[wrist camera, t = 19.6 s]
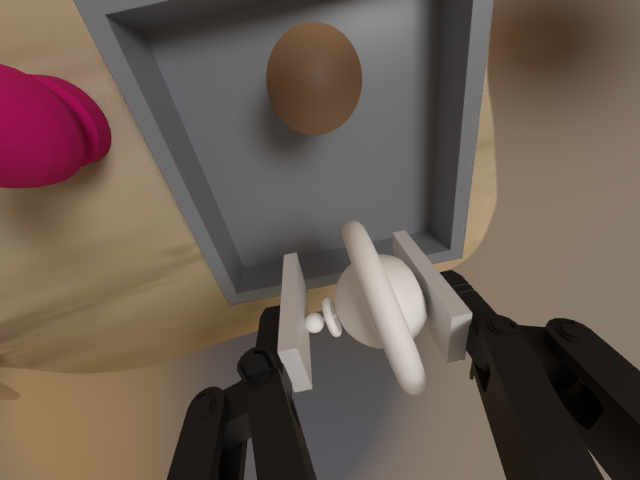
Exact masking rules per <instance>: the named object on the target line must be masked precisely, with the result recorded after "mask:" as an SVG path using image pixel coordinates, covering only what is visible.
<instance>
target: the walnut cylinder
mask: <svg viewBox="0 0 640 480" xmlns="http://www.w3.org/2000/svg"><path fill="white" fill-rule="evenodd" d="M266 84H267V91H268V95H269V98H270V101H271V104H272V106H273V108H274V110H275V111H276V113H277V114H278V116H279V117H280V118H281V119H282V120H283V122H284V123H286V124H287V125H288V126H289V127H291V128H292V129H294V130H296V131H298V132H300V133H303V134H308V135H322V134H326V133H329V132H332V131H334V130H336V129H337V128H339V127H340V126H341V125H343V124H344V123H345V122H346V121H347V120H348V119H349V117H350V116H351V115H352V113H353V112H354V110H355V108H356V106H357V104H358V101H359V98H360V94H361V89H362V70H361V64H360V60H359V57H358V55H357V52H356V50H355V48H354V47H353V45H352V43H351V42H350V41H349V39H348V38H347V37H346V36H345V35H344V34H343V33H342V32H341V31H339V30H338V29H336V28H335V27H333V26H331V25H328V24H326V23H321V22H305V23H302V24H298V25H296V26H294V27H292V28H291V29H289V30H288V31H287V32H285V33H284V34H283V35H282V36H281V37H280V39H279V40H278V41H277V43H276V44H275V46H274V48H273V49H272V52H271V54H270V57H269V60H268V64H267V70H266Z"/></svg>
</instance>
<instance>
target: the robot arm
mask: <svg viewBox="0 0 640 480" xmlns="http://www.w3.org/2000/svg"><path fill="white" fill-rule="evenodd" d="M392 238H393V256H394V257H397V258H399V259H401V260H402V261H403V262H404V263H405V265H407V266H408V267H409V268H410V269H411V271H412V272H413V274H414V276H415V278H416V280H417V282H418V284H419V286H420V288H421V290H422V293H423V296H424V299H425V302H426V313H427V319H426V322H425V325H426V327H427V328H428V330H429V332H430V334H431V335H432V337H433V339H434V341H435V342H436V344H437V346H438V348H439V349H440V351H441V353H442V355H443V356H444V358H445V360H446V362H453V361H458V360H463V359H465V356H466V350H467V352H468V353H469V355H470V356H471V358H472V364H471V370H470V379H473V377H474V376H475V379H476V382H477V386H478V389H479V392H480V395H481V398H482V402H483V405H484V408H485V412H486V415H487V418H488V421H489V424H490V428H491V431H492V434H493V437H494V441H495V444H496V447H497V450H498V453H499V457H500V460H501V463H502V466H503V470H504V473H505V476H506V479H507V480H604V478H603V476H602V475H601V473H600V471H599V469H598V467H597V465H596V464H595V462H594V460H593V458H592V456H591V455H590V453H589V451H590V452H591V453H592V455H593V456H594V457H595V459H596V460H597V461H598V462H599V464H600V465H601V466H602V467H603V469H604V470H605V471H606V473H607V474H608V475H609V477H610V478H611V479H612V480H640V371H639V370H638V369H637V368H636V367H635V366H633V365H632V364H631V363H630V362H628V361H627V360H626V359H625V358H624V357H623V356H622V355H620V354H619V353H618V352H617V351H616V350H614V349H613V348H612V347H611V346H610V345H609V344H607V343H606V342H605V341H604V340H603V339H601V338H600V337H599V336H598V335H597V334H595V333H594V332H593V331H592V330H591V329H589V328H588V327H586V326H585V325H583V324H581V323H579V322H576V321H574V320H570V319H565V318H555V319H552V320H550V321H549V322H548V323H547V325H546V327H536V326H523V325H517V323H516V322H514V321H512V320H511V319H509V318H507V317H505V316H502V315H498V314H496V313H495V312H494V310H493V309H492V308H491V307H490V306H489V305H488V304H487V303H486V302H485V301H484V300H483V298H482V297H481V296H480V295H479V294H478V293H477V292H476V291H474V289H473V288H472V286H471V285H469V284H468V282H467V281H466V280H465V279H464V278H463V277H462V276H461V275H459V274H458V273H456V272H454V271H452V270H448V271H444V272H439V271H438V270H437V269H436V268H435V266H434V265H433V264H432V263H431V261H430V260H429V259H428V258H427V257H426V255H425V254H424V253H423V252H422V250H421V249H420V248H419V247H418V245H417V244H416V243H415V242H414V241H413V239H412V238H411V237H410V236H409V234H408V233H407V232H406V231H405V230H403V231H398V232H393V233H392ZM307 316H308V309H307V292H306V285H305V281H304V278H303V274H302V270H301V267H300V263H299V260H298V256H297V253H291V254H286V255H284V262H283V276H282V291H281V305H279V306H274V307H269V308H265V310H264V312H263V313H262V315H261V317H260V322H259V329H258V335H257V342H256V347H254V348H251V349H250V350H248V351H247V352H245V354H244V355H243V356H242V357H241V358H240V360H239V362H238V365H237V371H238V372H239V375H240V376H241V378H242V380H241V381H239V382H238V383H236V384H234V385H232V386H230V387H228V388H226V389H225V390H223V391H222V390H221V389H220V388H218V387H209V388H206V389H204V390H203V391H201V392H200V393H199V394H197V395H196V396H195V398H194V399H193V400H192V401H191V403H190V405H189V408H188V410H187V413H186V417H185V420H184V423H183V427H182V430H181V433H180V437H179V440H178V443H177V447H176V450H175V453H174V457H173V460H172V463H171V467H170V470H169V474H168V477H167V480H244V471H245V460H246V449H247V440H248V439H249V438H251V437H252V444H253V451H254V459H255V467H256V474H257V480H317V479H316V476H315V472H314V469H313V465H312V462H311V459H310V455H309V452H308V448H307V445H306V442H305V438H304V435H303V432H302V428H301V425H300V421H299V418H298V414H297V411H296V407H295V404H294V401H293V399H292V387H293V390H294V392H299V391H305V390H309V389H312V377H311V360H310V343H309V331H308V330H307V329H306V326H305V319H306V317H307ZM587 448H588V449H587ZM588 450H589V451H588Z"/></svg>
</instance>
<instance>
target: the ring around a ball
mask: <svg viewBox="0 0 640 480" xmlns="http://www.w3.org/2000/svg"><path fill="white" fill-rule="evenodd" d="M342 235H343V240H344V243H345V246H346V249H347V252H348V255H349V258H350V261H351V264H350V265H349V266H348V267H347V268H346V269H345V271H344V272H343V273H342V275H341V276H340V278H339V281H338V283H337V286H336V290H335V306H334V304H333V302H332V300H331V299H330V298H329V297H324V298H323V299H322V311H323V314H324V317H322V316H321V315H320V314H318V313H310V314H309V315H308V316H307V317H306V319H305V326H306V329H307V330H308V331H310V332H312V333H316V332H319V331H320V330H321V329H322V328H323V326H324V321H326V324H327V326H328V328H329V330H330V332H331V334H332V335H333V336H335V337H339V336H340V335H341V332H342V329H341V324H342V325H343V327H344V328H345V330H346V331H347V332H348V333H349V334H350V335H351V336H352V337H353V338H355V339H356V340H357V341H359V342H361V343H363V344H365V345H368V346H371V347H374V348H382V349H384V350H385V353H386V355H387V358H388V360H389V362H390V365H391V367H392V370H393V372H394V374H395V376H396V378H397V381H398V383H399V384H400V386H401V388H402V389H403V390H404V391H405V392H406V393H408V394H411V395H418V394H421V393H422V392H423V391H424V389H425V387H426V376H425V372H424V369H423V365H422V363H421V360H420V357H419V354H418V351H417V348H416V346H415V343H414V340H413V338H414V337H415V336H416V335H417V334H418V333H419V332H420V330H421V329H422V328H423V325H424V324H425V322H426V319H427V313H426V302H425V299H424V296H423V293H422V290H421V288H420V286H419V284H418V282H417V280H416V278H415V276H414V274H413V272H412V271H411V269H410V268H409V267H408V266H407V265H405V263H404V262H403V261H402V260H401V259H399V258H397V257H394V256H390V255H384V254H377V252H376V249H375V247H374V245H373V243H372V241H371V239H370V237H369V235H368V233H367V231H366V230H365V228H364V227H363V225H362V224H361V223H359V222H358V221H349V222H347V223H346V224H345V225H344V226H343V229H342ZM340 322H341V323H340Z"/></svg>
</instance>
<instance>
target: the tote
mask: <svg viewBox="0 0 640 480" xmlns="http://www.w3.org/2000/svg"><path fill="white" fill-rule="evenodd" d="M73 1H74V3H75V5H76V7H77V9H78V11H79V13H80V15H81V16H82V18H83V20H84V22H85V24H86V26H87V28H88V30H89V32H90V34H91V36H92V38H93V40H94V42H95V44H96V46H97V48H98V50H99V52H100V54H101V56H102V58H103V60H104V62H105V64H106V66H107V67H108V69H109V71H110V73H111V75H112V77H113V79H114V81H115V83H116V85H117V87H118V89H119V91H120V93H121V95H122V97H123V99H124V101H125V103H126V105H127V107H128V109H129V111H130V113H131V115H132V116H133V118H134V120H135V122H136V124H137V126H138V128H139V130H140V132H141V134H142V136H143V138H144V140H145V142H146V144H147V146H148V148H149V150H150V152H151V154H152V156H153V158H154V160H155V162H156V164H157V165H158V167H159V169H160V171H161V173H162V175H163V177H164V179H165V181H166V183H167V185H168V187H169V189H170V191H171V193H172V195H173V197H174V199H175V201H176V203H177V205H178V207H179V209H180V211H181V213H182V214H183V216H184V218H185V220H186V222H187V224H188V226H189V228H190V230H191V232H192V234H193V236H194V238H195V240H196V242H197V244H198V246H199V248H200V250H201V252H202V254H203V256H204V258H205V260H206V262H207V264H208V265H209V267H210V269H211V271H212V273H213V275H214V277H215V279H216V281H217V283H218V285H219V287H220V289H221V291H222V293H223V295H224V297H225V299H226V301H227V303H228V305H229V306H230V305H235V304H240V303H245V302H250V301H254V300H259V299H264V298H269V297H274V296H279V295H281V291H282V276H283V262H284V255H286V254H291V253H297V256H298V260H299V263H300V267H301V270H302V274H303V278H304V281H305V285H306V290H308V289H313V288H318V287H323V286H328V285H333V284H337V283H338V281H339V278H340V276H341V275H342V273H343V272H344V271H345V269H346V268H347V267H348V266H349V265H350V264H351V261H350V258H349V255H348V252H347V249H346V246H345V243H344V240H343V235H342V229H343V226H344V225H345V224H346V223H347V222H349V221H358V222H359V223H361V224H362V225H363V227H364V228H365V230H366V231H367V233H368V235H369V237H370V239H371V241H372V243H373V245H374V247H375V249H376V252H377V254H384V255H390V256H393V238H392V233H393V232H398V231H403V230H405V231H406V232H407V233H408V234H409V236H410V237H411V238H412V239H413V241H414V242H415V243H416V244H417V245H418V247H419V248H420V249H421V250H422V252H423V253H424V254H425V255H426V257H427V258H428V259H429V260H430V261H431V263H432V264H436V263H441V262H446V261H451V260H456V259H461V258H462V256H463V248H464V240H465V232H466V223H467V215H468V207H469V199H470V191H471V182H472V174H473V166H474V158H475V149H476V141H477V133H478V125H479V117H480V108H481V100H482V92H483V84H484V75H485V67H486V59H487V51H488V43H489V34H490V26H491V18H492V9H493V1H494V0H73ZM305 22H321V23H326V24H328V25H331V26H333V27H335V28H336V29H338V30H339V31H341V32H342V33H343V34H344V35H345V36H346V37H347V38H348V39H349V41H350V42H351V43H352V45H353V47H354V48H355V50H356V52H357V55H358V57H359V60H360V64H361V70H362V89H361V94H360V98H359V101H358V104H357V106H356V108H355V110H354V112H353V113H352V115H351V116H350V117H349V119H348V120H347V121H346V122H345V123H344V124H343V125H341V126H340V127H339V128H337V129H336V130H334V131H332V132H329V133H326V134H322V135H308V134H303V133H300V132H298V131H296V130H294V129H292V128H291V127H289V126H288V125H287V124H286V123H284V122H283V120H282V119H281V118H280V117H279V116H278V114H277V113H276V111H275V110H274V108H273V106H272V104H271V101H270V98H269V95H268V91H267V84H266V70H267V64H268V60H269V57H270V54H271V52H272V49H273V48H274V46H275V44H276V43H277V41H278V40H279V39H280V37H281V36H282V35H283V34H284V33H285V32H287V31H288V30H289V29H291V28H292V27H294V26H296V25H298V24H302V23H305Z"/></svg>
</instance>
